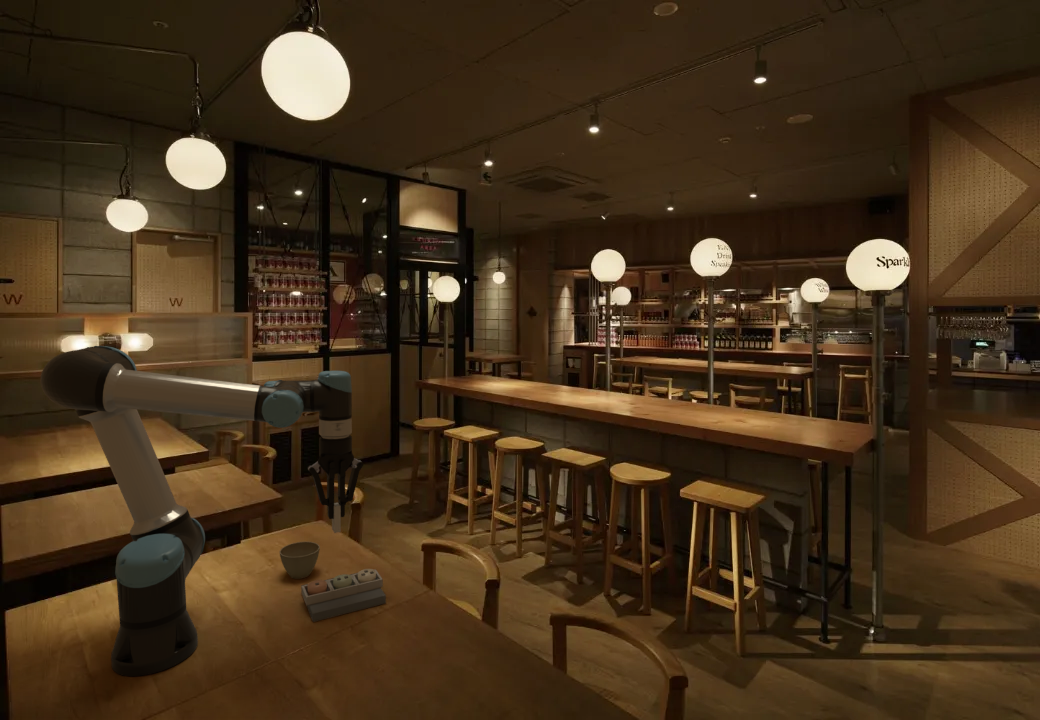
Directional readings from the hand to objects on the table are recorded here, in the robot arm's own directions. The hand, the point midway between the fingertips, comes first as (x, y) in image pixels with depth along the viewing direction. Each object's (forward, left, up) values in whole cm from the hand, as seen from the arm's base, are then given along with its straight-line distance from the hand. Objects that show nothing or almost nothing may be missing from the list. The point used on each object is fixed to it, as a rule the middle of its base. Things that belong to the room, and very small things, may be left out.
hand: (336, 530), depth 141 cm
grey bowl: (-6, +18, -18) cm, 26 cm away
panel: (+1, 0, -17) cm, 17 cm away
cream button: (+7, 0, -15) cm, 16 cm away
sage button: (+1, 0, -15) cm, 15 cm away
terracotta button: (-5, 0, -15) cm, 16 cm away
